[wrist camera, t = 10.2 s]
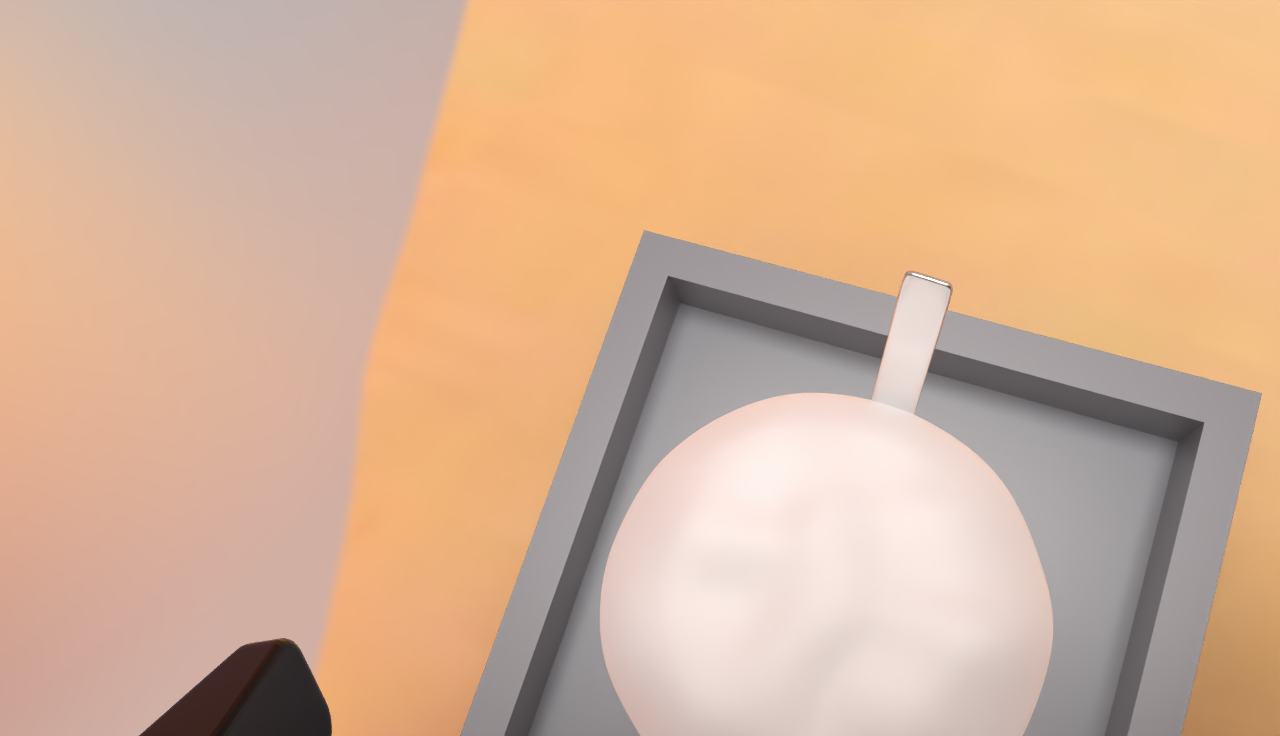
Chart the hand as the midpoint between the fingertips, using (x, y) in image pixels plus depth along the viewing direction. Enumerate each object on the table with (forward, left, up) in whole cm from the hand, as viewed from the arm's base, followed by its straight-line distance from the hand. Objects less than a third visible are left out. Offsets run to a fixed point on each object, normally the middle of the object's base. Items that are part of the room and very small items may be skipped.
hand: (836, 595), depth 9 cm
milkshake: (0, 0, -11) cm, 11 cm away
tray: (+1, 0, -11) cm, 11 cm away
